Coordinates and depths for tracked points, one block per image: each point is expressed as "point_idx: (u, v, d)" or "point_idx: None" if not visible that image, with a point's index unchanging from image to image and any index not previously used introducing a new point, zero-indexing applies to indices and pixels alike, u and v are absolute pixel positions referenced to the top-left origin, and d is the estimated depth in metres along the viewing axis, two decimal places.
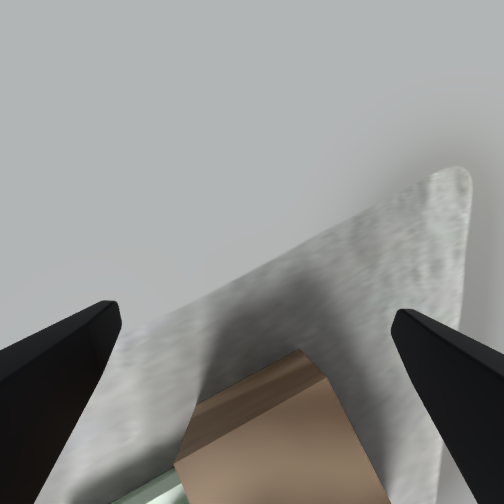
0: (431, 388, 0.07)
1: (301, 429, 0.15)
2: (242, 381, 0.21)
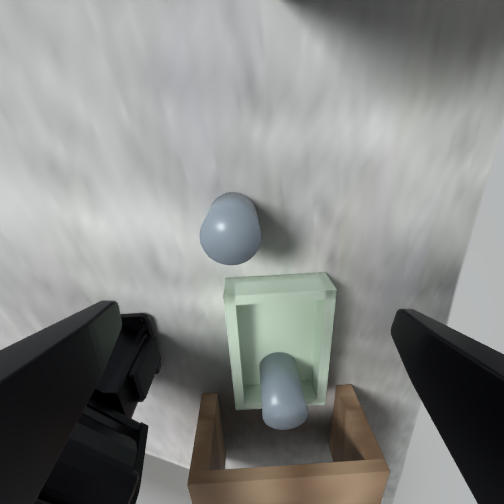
0: (431, 388, 0.07)
1: None
2: None
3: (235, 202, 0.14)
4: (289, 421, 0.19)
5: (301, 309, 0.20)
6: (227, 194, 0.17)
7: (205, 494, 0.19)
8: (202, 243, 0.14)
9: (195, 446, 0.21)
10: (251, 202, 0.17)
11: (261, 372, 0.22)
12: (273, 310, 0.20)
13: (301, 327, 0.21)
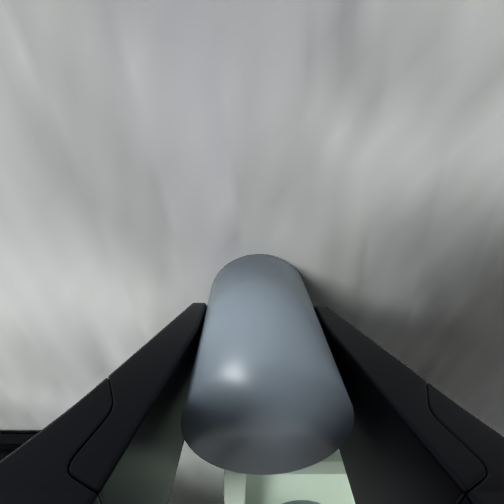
0: None
1: None
2: None
3: (284, 317, 0.06)
4: None
5: None
6: (254, 263, 0.08)
7: None
8: (186, 435, 0.05)
9: None
10: (301, 281, 0.08)
11: None
12: None
13: None
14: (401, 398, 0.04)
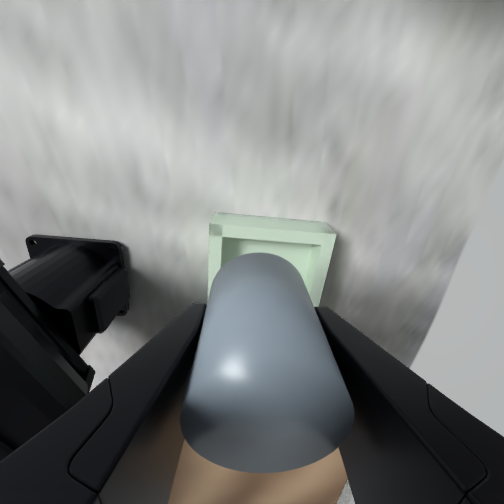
0: None
1: (317, 495, 0.20)
2: None
3: (284, 314, 0.05)
4: None
5: (293, 260, 0.19)
6: (253, 261, 0.08)
7: None
8: (186, 433, 0.05)
9: None
10: (301, 280, 0.08)
11: None
12: None
13: None
14: (401, 398, 0.04)
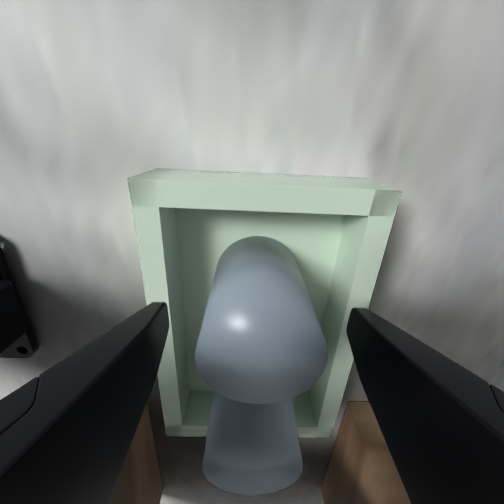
0: (375, 387, 0.07)
1: None
2: None
3: (275, 278, 0.07)
4: (260, 481, 0.09)
5: (307, 251, 0.10)
6: (253, 242, 0.09)
7: None
8: (199, 366, 0.07)
9: None
10: (293, 259, 0.10)
11: None
12: None
13: None
14: (469, 399, 0.04)
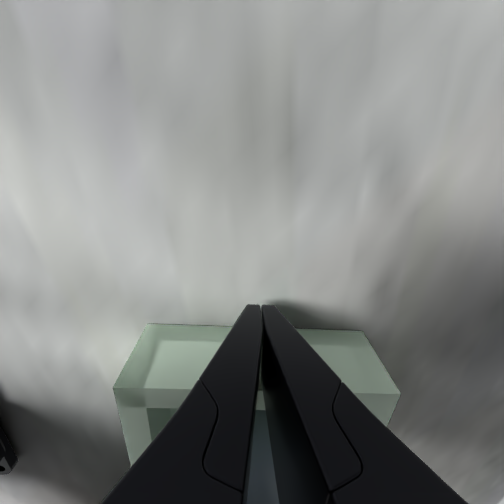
0: (265, 385, 0.06)
1: None
2: None
3: (269, 498, 0.07)
4: None
5: None
6: None
7: None
8: None
9: None
10: None
11: None
12: None
13: None
14: (306, 397, 0.04)
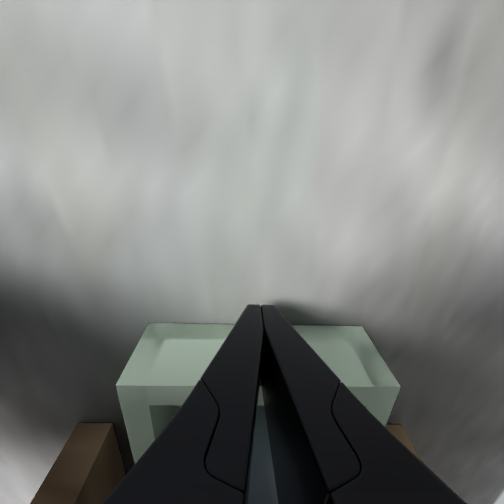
0: (264, 385, 0.06)
1: None
2: None
3: (272, 493, 0.07)
4: None
5: None
6: None
7: None
8: None
9: None
10: None
11: None
12: None
13: None
14: (306, 397, 0.04)
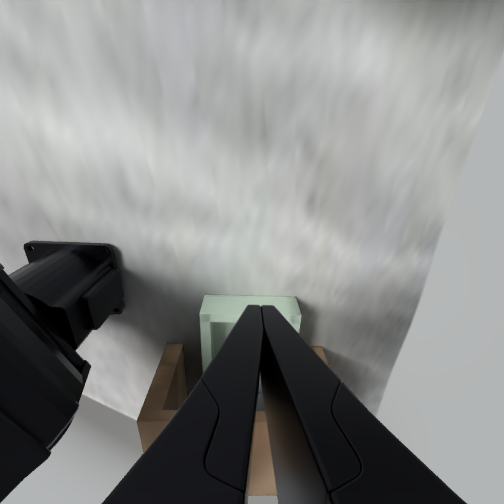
0: (264, 385, 0.06)
1: None
2: None
3: None
4: None
5: None
6: None
7: (155, 434, 0.18)
8: None
9: (151, 388, 0.20)
10: None
11: None
12: None
13: None
14: (305, 397, 0.04)
